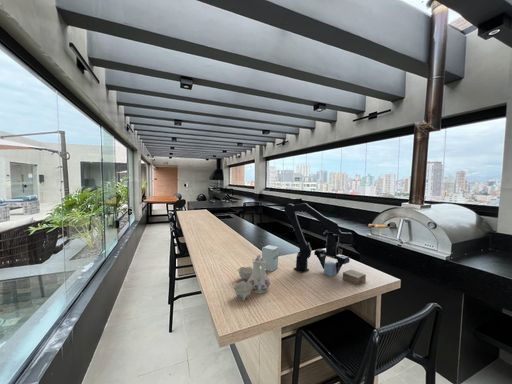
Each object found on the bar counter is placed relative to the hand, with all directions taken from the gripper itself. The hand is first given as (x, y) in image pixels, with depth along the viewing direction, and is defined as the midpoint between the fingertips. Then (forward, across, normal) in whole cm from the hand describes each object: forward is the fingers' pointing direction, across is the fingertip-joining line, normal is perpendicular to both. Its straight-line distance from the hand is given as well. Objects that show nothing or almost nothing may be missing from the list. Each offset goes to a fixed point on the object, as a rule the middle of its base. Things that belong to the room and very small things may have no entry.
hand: (330, 271), depth 121 cm
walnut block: (+2, -12, -3) cm, 12 cm away
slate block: (+2, 0, 0) cm, 2 cm away
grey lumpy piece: (+2, +12, +46) cm, 48 cm away
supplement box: (+2, +25, +23) cm, 34 cm away
